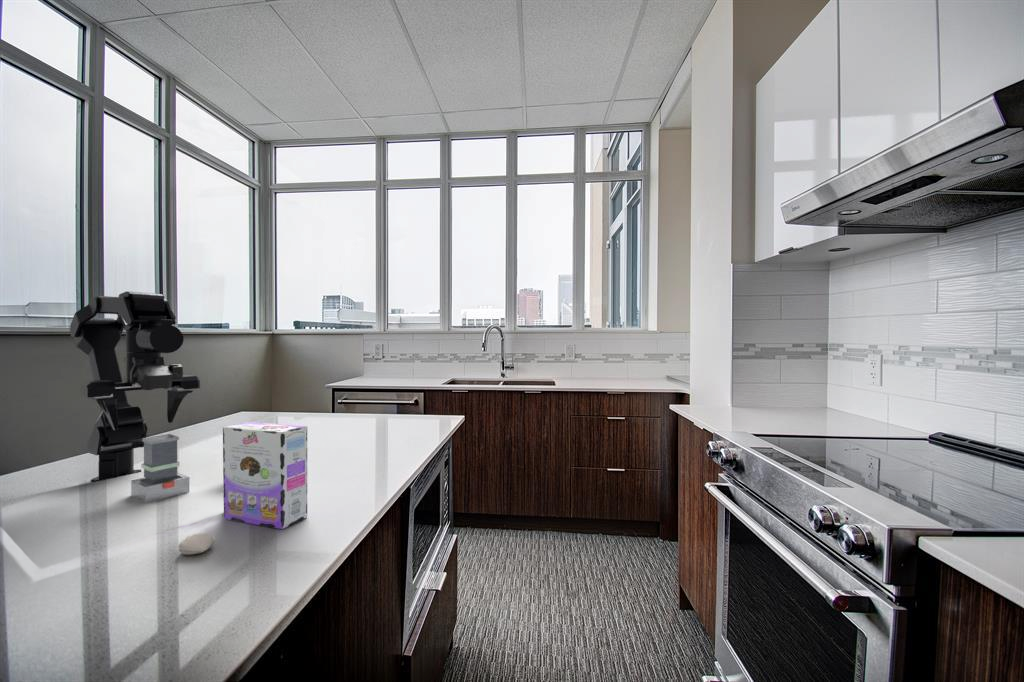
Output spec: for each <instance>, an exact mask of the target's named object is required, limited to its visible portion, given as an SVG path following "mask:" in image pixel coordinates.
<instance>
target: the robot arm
mask: <svg viewBox="0 0 1024 682" xmlns="http://www.w3.org/2000/svg"><path fill="white" fill-rule="evenodd" d="M97 314H105V315H106V314H107V315H117V316H116V317H117V318H116V319H115V318H110V317H109V318H106V317H96V316H97ZM176 318H177V317H176V315H175V313H174V312H173V310H172V308H171V307H170V303H169V301H168V300H167V299H165V296H164V294H162V293H153V292H143V291H142V292H138V291H127V290H126V291H124V292H122V293H118V296H107V295H106V296H105V295H96V296H92V297H91V298H90V300H89V304H87V305H85V306H84V307H82V308H81V309H79V310H77V311H76V312H75V313H74V314H73V317H72V320H71V322H70V325H69V326H70V327H69V334H70V337H71V338H73V340H74V343H75V346H76V348H78V349H79V350H80V351H82V352H83V353H84V354H86V355H87V356H88V359H89V365H90V368H91V372H92V377H93V380H84V381H82V382H81V383H80V384H79V387H78V389H79V390H78V391H79V392H78V395H79V396H81V397H84V398H88V400H90V401H94V402H96V403H97V404H98V405H99V408H100V414H99V416H98V417H97V418H96V421H95V422H94V425H93V427H94V428H93V430H92V432H91V434H90V437H89V439H88V442H86V443H87V444H86V445H87V451H88V453H89V454H91V455H94V456H98V466H97V467H98V468H97V469H98V476H96V477H94V478H91V479H90V483H94V482H99V481H106V480H110V479H116V478H120V477H125V476H129V475H134V474H139V472H140V473H142V469H135V468H134V466H135V460H134V459H135V458H134V457H135V456H134V455H135V454H134V453H135V452H134V450H135V449H137V448H138V449H139V448H144V442H143V441H142V438H147V433H148V428H149V427H148V426H147V423H146V422H145V419H144V418H143V415H142V409H141V408H140V407H139V406H138V405H135V406H133V405H131V403H130V404H129V402H128V398H127V397H128V396H127V392H128V391H129V392H130V391H131V392H132V391H142V390H143V391H152V390H153V391H154V390H155V389H156V390H157V389H164V390H166V391H167V393H166V394H167V396H166V399H167V404H166V405H167V407H166V412H167V413H166V415H167V416H166V417H167V422H168V424H172V423H173V422H174V419H175V417H176V416H177V412H178V410H179V407H180V405H181V403H182V402H183V399H184V398H185V397H187V396H188V394H192V393H193V392H194V389H196V390H197V389H201V379H200V377H199V376H197V375H192V374H186V375H185V374H184V369H183V368H184V367H183V365H182V364H181V363H179V364H178V363H174V364H169V365H165V359H164V356H162V354H170V353H175V352H176V351H178V350H179V349H180V348H181V347H182V346H183V343H184V339H185V338H184V335H183V332H182V331H181V330H180V329H179V328H178V327H177V326H174V325H176V323H177V322H176ZM123 331H125V356H124V357H123V362H125V376H123V377H124V378H123V377H122V374H121V369H120V364H119V361H118V357H117V352H116V347H117V345H118V343H119V342H120V340H121V338H122V333H123ZM123 380H124V381H123Z"/></svg>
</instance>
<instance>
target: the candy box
mask: <svg viewBox="0 0 1024 682" xmlns="http://www.w3.org/2000/svg"><path fill="white" fill-rule="evenodd" d="M222 452H223V453H222V460H223V461H222V468H223V469H222V470H223V471H222V472H223V480H222V481H223V520H226V521H227V520H228V521H235V522H239V523H245V524H250V525H256V526H257V525H258V526H261V527H268V528H273V529H280V530H284V529H285V528H288V527H289V526H292V525H294V524H296V523H298V522H300V521H302V520H304V519H306V518H308V426H307V425H293V424H282V423H280V424H279V423H272V422H271V423H270V422H257V421H246V422H242V423H237V424H232V425H228V426H224V427H222Z"/></svg>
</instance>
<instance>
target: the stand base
mask: <svg viewBox="0 0 1024 682" xmlns="http://www.w3.org/2000/svg"><path fill="white" fill-rule="evenodd" d="M130 481H131V485H130V487H131V488H130V489H131V490H130V493H131V494H130V495H131V497H133V498H135V499H137V500H139V501H140V502H143V503H144V504H148V503H152V502H155V501H160V500H163V499H167V498H171V497H175V496H178V495H182V494H187V493H190V477H189V476H188V475H185V474H183V473H180V472H178V471H177V475H176V476H171V477H167V478H162V479H158V480H153V481H152V480H149V479H147V478H145V477H142V478H141V477H140V478H136V479H132V480H130Z"/></svg>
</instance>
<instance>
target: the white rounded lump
mask: <svg viewBox="0 0 1024 682" xmlns="http://www.w3.org/2000/svg"><path fill="white" fill-rule="evenodd" d="M214 542H215V539H214V536H213V535H212V534H210V533H205V532H202V533H197V534H196V533H195V534H192V535H191V536H187V537H186V538H185V539H183V540H182V541H180V543H179V545H178V551H179V553H180V554H181V555H187V556H193V555H197V554H201V553H203V552H205V551H208V550H209V548H211V547H213V544H214Z"/></svg>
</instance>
